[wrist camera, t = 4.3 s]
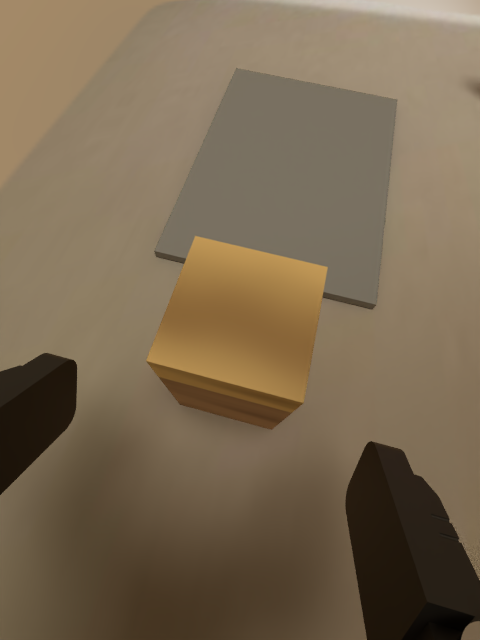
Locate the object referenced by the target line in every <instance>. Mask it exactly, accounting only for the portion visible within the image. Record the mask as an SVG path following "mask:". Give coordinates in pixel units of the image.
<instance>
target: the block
mask: <svg viewBox="0 0 480 640" xmlns="http://www.w3.org/2000/svg"><path fill="white" fill-rule="evenodd" d="M327 269H328V267H325V266H321V265H317V264H313V263H308V262H304V261H300V260H296V259H291V258H287V257H283V256H279V255H274V254H270V253H266V252H262V251H257V250H253V249H249V248H245V247H240V246H236V245H232V244H228V243H223V242H219V241H215V240H211V239H206V238H202V237H198V236H195V238H194V240H193V243H192V245H191V248H190V251H189V253H188V256H187V258H186V261H185V263H184V266H183V268H182V271H181V273H180V276H179V278H178V281H177V284H176V286H175V289H174V291H173V294H172V296H171V299H170V301H169V304H168V306H167V309H166V312H165V314H164V317H163V319H162V322H161V324H160V327H159V329H158V332H157V334H156V337H155V340H154V342H153V345H152V347H151V350H150V352H149V355H148V357H147V360H146V361H147V363H148V364H149V365H150V367H151V368H152V369H153V370H154V372H155V373H156V374H157V376H158V377H159V378H160V379H161V381H162V382H163V383H164V384H165V386H166V387H167V388H168V390H169V391H170V392H171V393H172V395H173V396H174V397H175V399H176V400H177V401H178V402H179V404H180V405H184V406H187V407H191V408H195V409H198V410H202V411H206V412H209V413H213V414H217V415H220V416H224V417H227V418H231V419H235V420H238V421H242V422H246V423H249V424H253V425H257V426H260V427H264V428H267V429H271V430H272V429H273V428H274V427H275V426H276V425H278V424H279V423H280V422H281V421H282V420H284V419H285V418H286V417H287V416H288V415H290V414H291V413H292V412H293V411H294V410H296V409H297V408H298V407H299V406H301V405H302V404H303V403H304V398H305V392H306V386H307V381H308V375H309V370H310V364H311V358H312V353H313V347H314V341H315V336H316V330H317V325H318V319H319V313H320V308H321V302H322V297H323V291H324V285H325V280H326V274H327Z"/></svg>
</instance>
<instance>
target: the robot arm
mask: <svg viewBox="0 0 480 640" xmlns="http://www.w3.org/2000/svg"><path fill="white" fill-rule="evenodd" d="M76 393H77V364H76V362H75V361H74V360H71V359H67V358H64V357H60V356H56V355H53V354H49V353H44V354H42V355H40V356H38V357H36V358H35V359H33V360H31V361H30V362H28V363H27V364H25V365H23V366H17V367H14V368H10V369H7V370H4V371H1V372H0V495H1V494H2V493H3V492H4V491H5V490H6V489H7V488H8V487H9V486H10V485H11V484H12V483H13V482H14V481H15V480H16V479H17V478H18V477H19V476H20V475H21V474H22V473H23V472H24V471H25V470H26V469H27V468H28V467H29V466H30V465H31V464H32V463H33V462H34V461H35V460H36V459H37V458H38V457H39V456H40V455H41V454H42V453H43V452H44V451H45V450H46V449H47V448H48V447H49V446H50V445H51V444H52V443H53V442H54V441H55V440H56V439H57V438H58V437H59V436H60V435H61V434H62V433H63V432H64V431H65V430H66V429H67V427H68V426H69V424H70V423H71V421H72V419H73V417H74V414H75V410H76ZM346 515H347V521H348V527H349V533H350V539H351V545H352V551H353V557H354V563H355V569H356V575H357V581H358V587H359V593H360V599H361V605H362V611H363V618H364V624H365V630H366V636H367V640H480V580H479V578H478V576H477V574H476V572H475V570H474V568H473V566H472V564H471V562H470V560H469V558H468V556H467V554H466V552H465V550H464V548H463V546H462V543H459V541H458V539H459V537H458V535H457V533H456V531H455V529H454V527H453V525H452V523H449V517H448V515H447V513H446V511H445V509H444V507H443V504H442V502H441V500H440V498H439V497H438V495H437V494H436V493H435V492H434V491H433V490H432V488H431V487H430V486H429V485H428V484H427V483H426V481H425V480H424V479H423V478H422V477H421V476H417V475H414V474H413V472H412V469H411V467H410V465H409V462H408V460H407V458H406V455H405V453H404V452H403V451H402V450H401V449H398V448H394V447H390V446H387V445H383V444H379V443H375V442H372V441H371V442H368V444H367V445H366V446H365V448H364V451H363V453H362V455H361V458H360V460H359V462H358V464H357V467H356V469H355V471H354V473H353V476H352V478H351V480H350V483H349V485H348V488H347V493H346Z"/></svg>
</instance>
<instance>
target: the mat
mask: <svg viewBox="0 0 480 640" xmlns="http://www.w3.org/2000/svg"><path fill="white" fill-rule="evenodd" d="M396 107H397V99H392V98H386V97H381V96H376V95H371V94H366V93H361V92H356V91H351V90H345V89H340V88H335V87H330V86H325V85H320V84H315V83H310V82H304V81H299V80H294V79H289V78H284V77H279V76H274V75H269V74H263V73H258V72H253V71H248V70H243V69H238V68H236V70H235V72H234V75H233V77H232V79H231V81H230V83H229V86H228V88H227V90H226V92H225V95H224V97H223V99H222V101H221V104H220V106H219V108H218V110H217V112H216V115H215V117H214V119H213V121H212V124H211V126H210V128H209V130H208V133H207V135H206V137H205V139H204V141H203V144H202V146H201V148H200V150H199V153H198V155H197V157H196V159H195V162H194V164H193V166H192V168H191V170H190V173H189V175H188V177H187V179H186V182H185V184H184V186H183V188H182V191H181V193H180V195H179V197H178V199H177V202H176V204H175V206H174V208H173V211H172V213H171V215H170V217H169V219H168V222H167V224H166V226H165V228H164V231H163V233H162V235H161V237H160V240H159V242H158V244H157V246H156V248H155V254H156V257H160V258H165V259H169V260H173V261H177V262H181V263H185V261H186V258H187V256H188V253H189V251H190V248H191V245H192V243H193V240H194V238H195V236H198V237H202V238H206V239H211V240H215V241H219V242H223V243H228V244H232V245H236V246H240V247H245V248H249V249H253V250H257V251H262V252H266V253H270V254H274V255H279V256H283V257H287V258H291V259H296V260H300V261H304V262H308V263H313V264H317V265H321V266H325V267H328V269H327V274H326V280H325V285H324V291H323V297H325V298H329V299H333V300H337V301H341V302H345V303H350V304H354V305H358V306H362V307H366V308H370V309H373V308H374V307H375V306H376V304H377V294H378V284H379V275H380V265H381V255H382V245H383V235H384V225H385V215H386V205H387V196H388V186H389V176H390V166H391V156H392V146H393V136H394V126H395V117H396Z"/></svg>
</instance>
